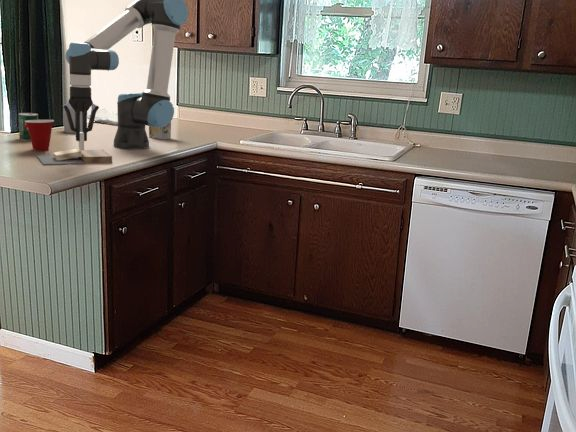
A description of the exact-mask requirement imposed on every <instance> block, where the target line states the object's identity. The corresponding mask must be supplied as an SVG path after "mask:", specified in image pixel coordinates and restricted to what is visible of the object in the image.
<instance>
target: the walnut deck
mask: <svg viewBox="0 0 576 432" xmlns="http://www.w3.org/2000/svg"><path fill="white" fill-rule="evenodd" d="M80 151H81V153H82V157H78V158H79V159H80V160H81V161H83V162H84V165H85V164H86V163H88V164H112V163H113V156H112V155H111V154H109V153H108V152H107V151H105V150H104V149H84V150H80Z"/></svg>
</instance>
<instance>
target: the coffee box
mask: <svg viewBox="0 0 576 432" xmlns="http://www.w3.org/2000/svg"><path fill="white" fill-rule="evenodd" d="M150 137H152V139H159V140H171V139H172V121H171V122H170V123H169V124H167V126H165V127H151V126H148V138H150ZM170 138H171V139H170Z"/></svg>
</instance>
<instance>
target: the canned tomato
mask: <svg viewBox="0 0 576 432" xmlns="http://www.w3.org/2000/svg"><path fill="white" fill-rule="evenodd" d="M17 115H18V128H19V129H18V131H19V133H18V134H19V140H20V141H26V142H27V141H28V142H31V138H30V134H29V129H28V126H27V124H26V122H25V121H27V120H39V114H38V113H35V112H34V113H33V112H19V113H18V114H17Z"/></svg>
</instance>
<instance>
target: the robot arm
mask: <svg viewBox="0 0 576 432" xmlns="http://www.w3.org/2000/svg"><path fill="white" fill-rule="evenodd" d="M188 18H189V9H188V6H187V4H186V1H185V0H135V1H133V2H132V3H131V4H129V5H128V6H126V8H125V9H124V12H123V13H122V14H120V15H119V16H117V17H116V18H115V19H113V20H112V21H110V22H109V23H108V24H107V25H105V26H104V27H102V29H100V30H99V31H98V32H96V33H95V34H93V35H92V36H91V37H89V38H88V39H87V40H85V41H84V42H75V41H74V42H70V43H69V46H68V49H67V50H66V51H65V60H66V62H67V64H69V65H68V66H69V67H68V68H69V69H68V70H69V85H71V86H70V87H69V99H68V102H66V104H62V108H63V111H64V110H65V111H66V115H67V118H68V122H69V126H70V129H71V130H72V131H74V132H76V133H75V140H76V142H78V149H79V150H85V142H87V140H88V132H92V131H93V127H94V123H95V121H94V119H95V115H96V112H97V110H98V109H100V107H99V105H97V104H95V103H94V102H93V100H92V88H91V86H92V71H93V70H94V71H108V72H109V71H115V70H116V69H117V68H118V66H119V64H120V59H119V55H118V52H116V51H115V50H113V49H112V50H111V48H112V47H113V46H115V45H116V44H117V43H118V42H120V41H122V40H123V39H124V38H125V37H127V36H128V35H130V34H131V33H132V32H133V31H135V30H136V29H141V28H143V27H144V26H147V25H149V24H151V27H152V28H153V31H154V32H153V40H152V45H151V53H150V60H149V61H150V62H149V69H148V76H147V85H146V88H145V90H143V91H142V92H141V93H140V92H137V93H136V92H135V93H133V92H132V93H120V94H118V97H117V102H116V104H117V113H118V125H117V129H116V131H115V132H116V133H115V135H114V139H113V147H115V148H118V149H119V148H120V149H128V150H142V149H148V148H149V147H150V140H149V136H148V134H147V131H146V126H148V127H149V126H151V127H165V126H167V124H169V123H170V122H171V123H172V120H173V118H174V115H175V107H174V105H173V103H172V102H171V96H170V94H169V93H168V91H169V82H170V77H171V76H170V75H171V70H172V69H171V68H172V63H173V62H172V61H173V54H174V47H175V39H176V35H177V34H178V33H179V32H180V31H181V26H182V25H184V24H185V23H186V22H187V21H188ZM70 105H71V107H72V108H73V109H74V110H75V128H74V124H73V120H72V117H71V113H70V110H69V109H70ZM90 108H91V109H92V111H91V115H90V119H88V118H87V111H89V110H91V109H90ZM81 111H82V130H83V132H80V112H81Z"/></svg>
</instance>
